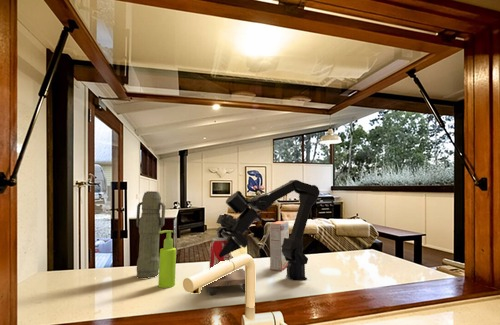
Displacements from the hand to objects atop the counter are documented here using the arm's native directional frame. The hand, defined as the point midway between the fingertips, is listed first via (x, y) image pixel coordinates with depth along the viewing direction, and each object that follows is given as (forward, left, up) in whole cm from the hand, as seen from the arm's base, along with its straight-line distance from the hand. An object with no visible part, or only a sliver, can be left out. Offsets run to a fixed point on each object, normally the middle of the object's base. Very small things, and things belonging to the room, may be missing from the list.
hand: (216, 254), depth 97 cm
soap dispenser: (+17, -10, -12) cm, 23 cm away
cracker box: (-35, -24, -12) cm, 44 cm away
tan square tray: (-4, -1, -12) cm, 13 cm away
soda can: (-1, 0, -7) cm, 7 cm away
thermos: (+24, -26, -12) cm, 37 cm away
